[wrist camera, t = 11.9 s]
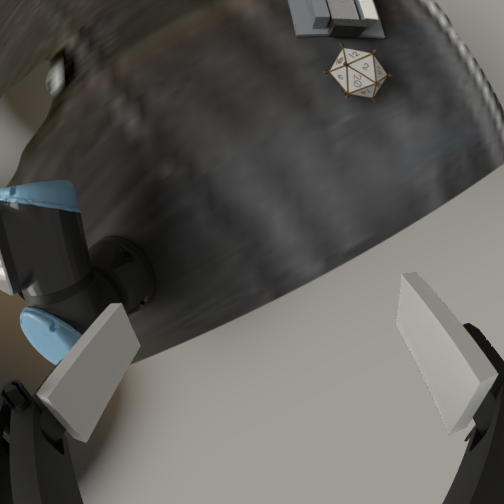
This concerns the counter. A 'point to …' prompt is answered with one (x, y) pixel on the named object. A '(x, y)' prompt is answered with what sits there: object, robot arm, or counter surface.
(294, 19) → the gauge housing
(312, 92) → the counter surface
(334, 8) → the block with dark end
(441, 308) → the robot arm
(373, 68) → the game die
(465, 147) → the counter surface
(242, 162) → the counter surface
